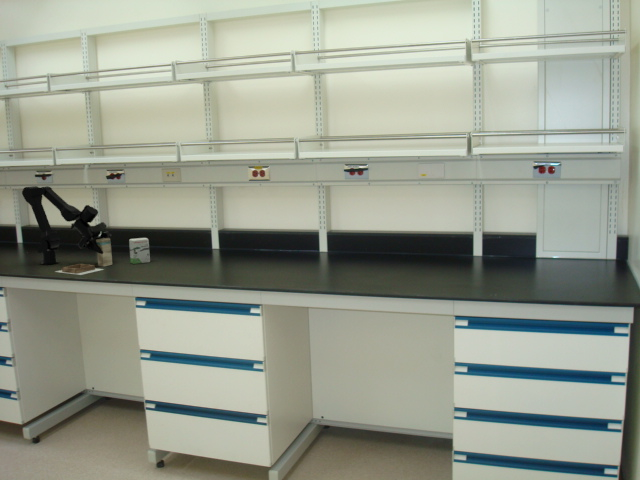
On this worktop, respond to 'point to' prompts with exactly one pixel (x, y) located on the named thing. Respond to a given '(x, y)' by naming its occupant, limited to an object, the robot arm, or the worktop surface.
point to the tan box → (104, 252)
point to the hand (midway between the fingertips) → (106, 252)
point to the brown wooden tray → (78, 268)
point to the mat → (82, 272)
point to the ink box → (139, 250)
